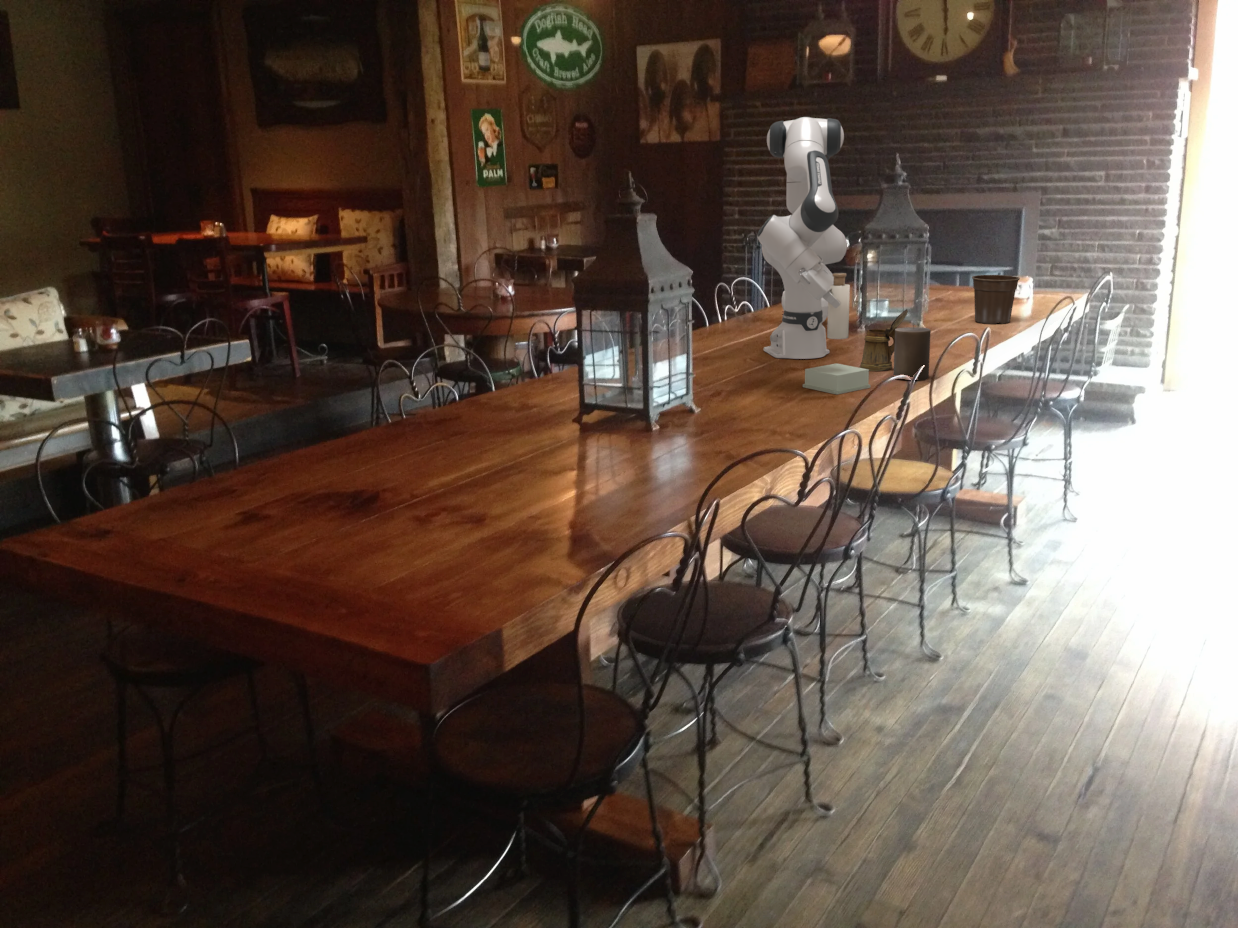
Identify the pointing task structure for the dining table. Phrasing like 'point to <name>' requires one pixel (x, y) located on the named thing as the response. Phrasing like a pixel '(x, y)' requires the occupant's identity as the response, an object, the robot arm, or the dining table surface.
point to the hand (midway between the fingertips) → (840, 304)
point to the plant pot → (994, 298)
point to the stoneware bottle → (839, 309)
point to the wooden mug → (880, 346)
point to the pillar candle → (912, 351)
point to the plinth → (836, 378)
